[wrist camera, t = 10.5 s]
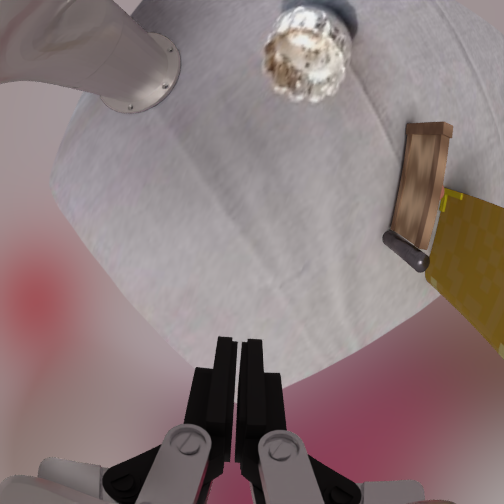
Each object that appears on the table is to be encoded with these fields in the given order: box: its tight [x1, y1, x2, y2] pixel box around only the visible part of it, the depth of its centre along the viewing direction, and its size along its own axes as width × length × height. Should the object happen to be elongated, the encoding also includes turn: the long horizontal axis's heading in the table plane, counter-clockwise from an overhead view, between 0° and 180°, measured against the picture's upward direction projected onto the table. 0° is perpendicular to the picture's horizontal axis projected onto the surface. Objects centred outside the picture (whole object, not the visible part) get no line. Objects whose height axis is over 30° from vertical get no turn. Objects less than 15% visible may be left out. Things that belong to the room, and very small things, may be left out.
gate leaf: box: [390, 122, 453, 250], centre depth 31 cm, size 16×2×9 cm, turn 173°
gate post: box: [383, 230, 430, 273], centre depth 34 cm, size 2×2×10 cm
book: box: [425, 188, 504, 359], centre depth 28 cm, size 17×7×25 cm, turn 175°
